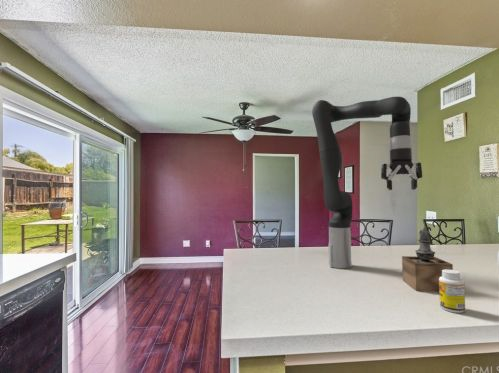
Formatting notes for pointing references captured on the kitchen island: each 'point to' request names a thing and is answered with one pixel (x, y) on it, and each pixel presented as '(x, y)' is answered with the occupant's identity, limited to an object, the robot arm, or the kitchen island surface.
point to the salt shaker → (424, 248)
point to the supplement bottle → (452, 291)
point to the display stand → (423, 273)
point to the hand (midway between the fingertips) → (401, 189)
